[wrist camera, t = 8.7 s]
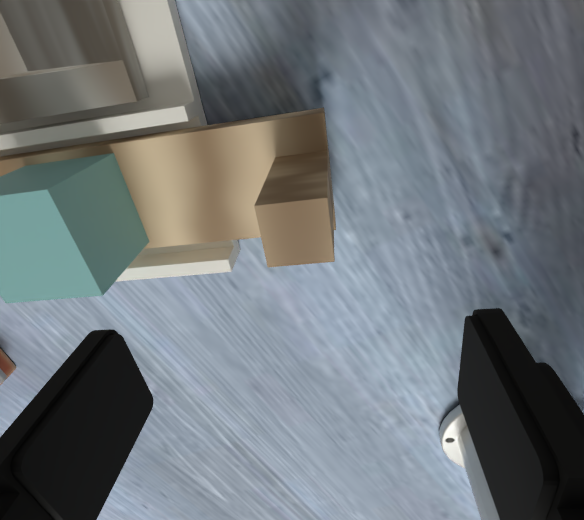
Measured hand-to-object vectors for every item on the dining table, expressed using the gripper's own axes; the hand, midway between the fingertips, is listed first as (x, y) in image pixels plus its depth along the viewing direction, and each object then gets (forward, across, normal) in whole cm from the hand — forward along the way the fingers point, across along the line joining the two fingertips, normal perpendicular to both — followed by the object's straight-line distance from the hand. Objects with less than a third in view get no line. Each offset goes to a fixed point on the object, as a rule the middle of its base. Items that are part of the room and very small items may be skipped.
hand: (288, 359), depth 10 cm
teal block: (+13, +14, -1) cm, 20 cm away
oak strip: (+15, +12, -1) cm, 19 cm away
